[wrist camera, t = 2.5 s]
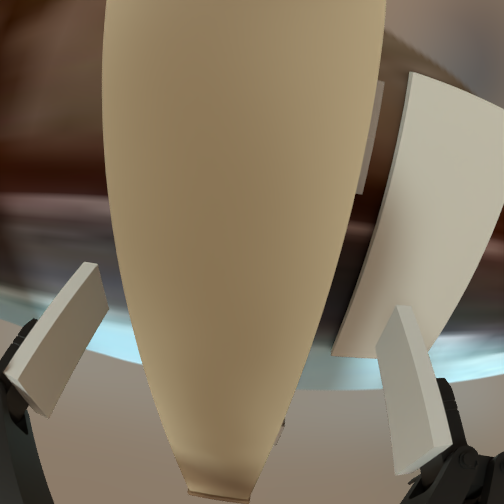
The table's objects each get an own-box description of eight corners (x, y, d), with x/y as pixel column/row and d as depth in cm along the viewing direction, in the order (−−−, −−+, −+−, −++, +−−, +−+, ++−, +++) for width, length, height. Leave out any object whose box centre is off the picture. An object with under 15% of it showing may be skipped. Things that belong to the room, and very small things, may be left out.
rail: (205, 418, 20) (188, 494, 15) (210, -13, 7) (113, -92, 2) (258, 426, 20) (248, 504, 15) (335, -3, 7) (399, -88, 2)
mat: (330, 351, 28) (331, 355, 27) (409, 71, 15) (413, 72, 14) (421, 355, 27) (422, 359, 27) (521, 119, 14) (526, 121, 14)
